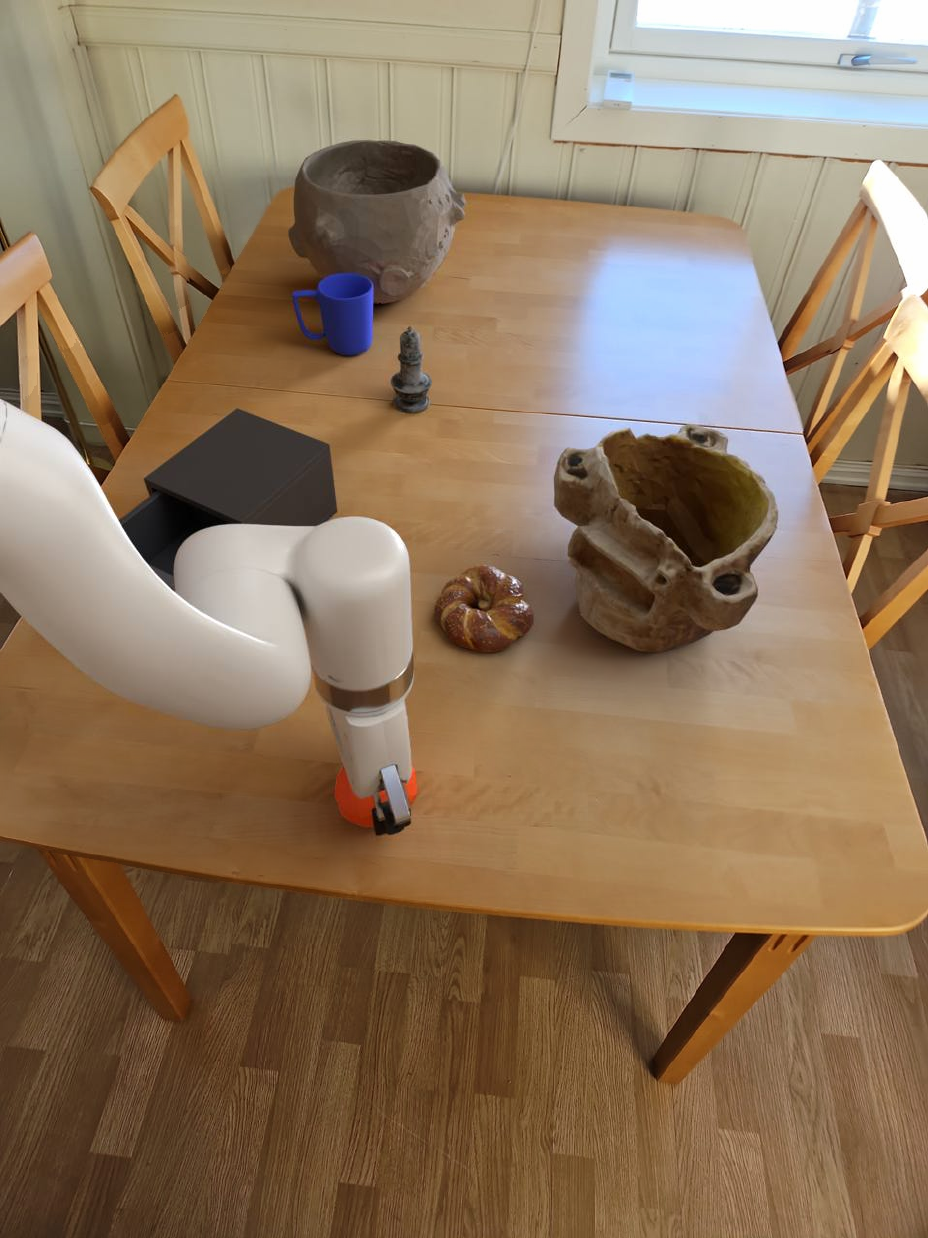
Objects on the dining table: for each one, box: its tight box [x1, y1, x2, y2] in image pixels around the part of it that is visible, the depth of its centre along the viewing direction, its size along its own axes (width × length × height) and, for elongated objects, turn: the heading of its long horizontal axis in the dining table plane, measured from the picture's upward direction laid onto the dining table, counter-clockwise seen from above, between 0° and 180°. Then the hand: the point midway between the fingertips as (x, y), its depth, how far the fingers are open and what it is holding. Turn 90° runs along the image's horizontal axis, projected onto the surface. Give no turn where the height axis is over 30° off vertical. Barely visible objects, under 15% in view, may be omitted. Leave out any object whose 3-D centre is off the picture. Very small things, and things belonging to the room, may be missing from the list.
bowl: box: [287, 139, 467, 305], centre depth 134 cm, size 27×29×20 cm
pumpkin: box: [333, 764, 418, 828], centre depth 74 cm, size 7×8×6 cm
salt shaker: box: [390, 325, 433, 414], centre depth 115 cm, size 6×6×12 cm
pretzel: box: [434, 564, 535, 653], centre depth 91 cm, size 12×11×4 cm
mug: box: [291, 273, 374, 356], centre depth 125 cm, size 8×12×10 cm
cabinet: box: [143, 407, 338, 526], centre depth 97 cm, size 16×14×10 cm
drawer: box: [118, 490, 232, 592], centre depth 89 cm, size 19×13×8 cm, turn 150°
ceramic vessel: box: [553, 423, 779, 654], centre depth 85 cm, size 23×24×25 cm
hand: (376, 782), depth 74 cm, fingers open, 9 cm apart
